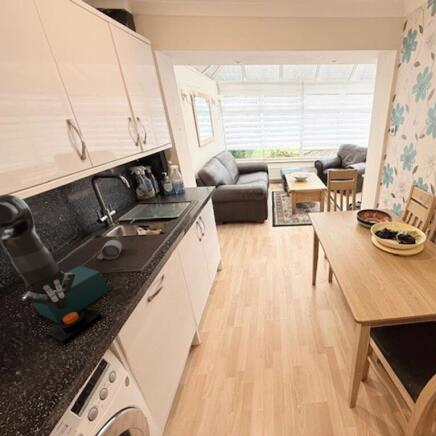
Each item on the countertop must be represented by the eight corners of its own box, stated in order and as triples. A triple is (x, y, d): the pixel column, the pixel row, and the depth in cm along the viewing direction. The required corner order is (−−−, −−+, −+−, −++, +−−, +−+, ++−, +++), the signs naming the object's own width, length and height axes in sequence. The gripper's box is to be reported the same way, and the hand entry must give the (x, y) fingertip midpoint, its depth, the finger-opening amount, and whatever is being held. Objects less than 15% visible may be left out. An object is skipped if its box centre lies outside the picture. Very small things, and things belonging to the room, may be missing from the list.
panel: (65, 344, 74) (59, 337, 72) (49, 336, 77) (43, 328, 76) (101, 317, 83) (97, 310, 82) (86, 311, 86) (81, 304, 85)
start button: (69, 325, 77) (66, 322, 76) (62, 322, 78) (60, 319, 77) (81, 317, 80) (79, 313, 79) (75, 314, 81) (72, 310, 80)
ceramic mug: (124, 248, 125) (118, 236, 122) (122, 256, 118) (116, 243, 115) (100, 255, 121) (93, 242, 118) (97, 263, 114) (90, 250, 111)
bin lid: (42, 306, 77) (34, 293, 75) (22, 296, 82) (14, 285, 80) (100, 273, 92) (94, 262, 89) (80, 267, 96) (74, 256, 94)
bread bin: (59, 324, 82) (46, 304, 78) (40, 314, 86) (26, 295, 83) (109, 291, 96) (100, 273, 92) (89, 284, 100) (80, 267, 96)
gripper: (55, 249, 76) (79, 291, 83) (-3, 274, 65) (30, 320, 72) (69, 253, 73) (92, 296, 80) (10, 280, 62) (43, 327, 69)
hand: (63, 307), depth 76 cm, fingers closed
